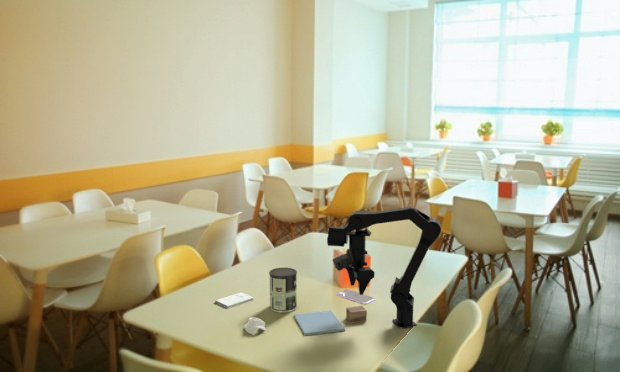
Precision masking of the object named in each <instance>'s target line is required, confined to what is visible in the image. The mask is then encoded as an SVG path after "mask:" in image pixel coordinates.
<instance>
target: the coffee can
mask: <svg viewBox="0 0 620 372" xmlns="http://www.w3.org/2000/svg"><path fill="white" fill-rule="evenodd" d="M297 273H298V271H297V270H296V269H294V268H292V267H275V268H272V269H270V270H269V272H268V274H269V309H270V311H273V312H275V313H282V314H283V313H284V314H286V313H291V312H294V311H295V310H297V308H298V304H297V301H298V299H297V291H298V290H297V282H298V281H297Z"/></svg>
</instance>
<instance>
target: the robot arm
mask: <svg viewBox="0 0 620 372" xmlns="http://www.w3.org/2000/svg"><path fill="white" fill-rule="evenodd" d="M408 220H409V221H411V222H412V223H413V224H414V225H415V226H416V227H417V228H419V229H420V230H421V233H420V237H419V240H418V242H417V245H416V247H415V249H414V252H412V255H411V258H410V260H409V261H408V264H407V265H406V267H405V270H404V272H403V273H402V275H401V276H400V278H398V277H395V278H394V282H393V284H392V285H391V286H390V290H389V294H390V300H391V303H393V305H395V307H396V318H393V319H392V322H393V323H394V324H395V325H396V326H397V327H398V328H399V329H402V328H403V329H404V328H413V327H417V326H418V325H417V323H416V322H415V321H414V303H415V297H414V296H413V295H412V294H411V293H410V292H411V288H412V283H413V281H414V279H415V277H416V275H417V273H418V271H419V269H420V267H421V265H422V263H423V260H424V259H425V256H426V254H427V252H428V250H429V249H430V247H432V245H433V244H434V243H435V242H436V240H438V238H439V237H440V235H441V233H442V225H441V222H440V220H439V219H437V218H435V217H430V216H429V215H427V214H426V213H424V212H422V211H420V210H419V209H417V208H416V207H415V206H413V205H411V206H408V207H401V208H394V209H393V208H392V209H386V210H385V209H384V210H378V211H371V210H355V211H353V212H351V215H350V216H349V217H348V221H347V224H345V226H344V227H339V226H337V227H336V226H332V225H331V226H329V227H328V232H327V238H326V244H327V246H328V247H345V245H348V248H347V249H346V251H345V253H344V254H341V255H339V256H337V257H334V258H332V263H333V265H334V268H335V269H336V270H337V271H338V272H340V271H342V270H344V269H345V270H346V272H347V275H348V280H349V284H350V286H355V283H356V281H357V286H358V287H357V288H358V293H359V294H360V295H363V294H364V293H365V291H366V289H367V287H368V286H369V283H370V282H371V281H372V280H373V279H374V278H375V271H374V270H373V269H372V268H370V267H369V266H368V262H367V261H366V255H368V250H366V237H371V235H372V231H370V230H369V227H372V226H373V225H378V224H385V223H391V222H392V223H393V222H400V221H408Z"/></svg>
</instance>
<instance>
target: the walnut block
mask: <svg viewBox="0 0 620 372" xmlns="http://www.w3.org/2000/svg"><path fill="white" fill-rule="evenodd" d="M345 309H346V310H345V311H346V314H345V318H346V319H347V321H348V322H349V323H351V324H353V323H357V322H358V323H359V322H367V314H368V313H367V309H366V308H365V307H364V306H363V305H359V306H358V305H356V306H348V307H347V306H346V308H345Z"/></svg>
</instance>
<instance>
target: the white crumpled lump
mask: <svg viewBox="0 0 620 372" xmlns="http://www.w3.org/2000/svg"><path fill="white" fill-rule="evenodd" d="M265 326H266V322H265V321H263V319H260V318H259V317H249V318H248V321H247V322H246V323H245V324H244V326H243V327H244V330H245V332H247V334H250V335H255V333H256V331H258V330H262V331H266V327H265Z"/></svg>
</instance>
